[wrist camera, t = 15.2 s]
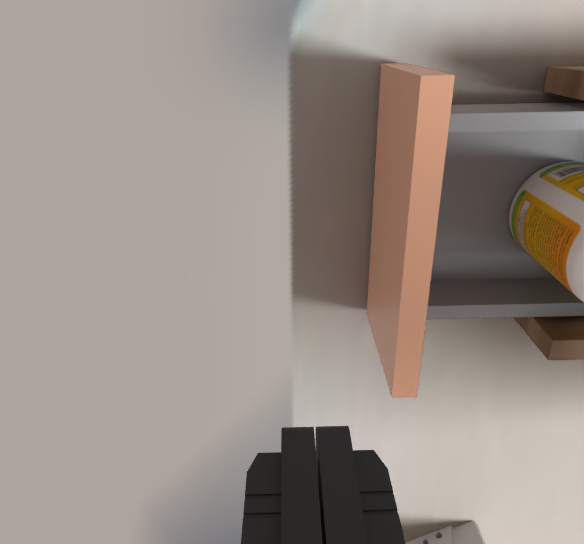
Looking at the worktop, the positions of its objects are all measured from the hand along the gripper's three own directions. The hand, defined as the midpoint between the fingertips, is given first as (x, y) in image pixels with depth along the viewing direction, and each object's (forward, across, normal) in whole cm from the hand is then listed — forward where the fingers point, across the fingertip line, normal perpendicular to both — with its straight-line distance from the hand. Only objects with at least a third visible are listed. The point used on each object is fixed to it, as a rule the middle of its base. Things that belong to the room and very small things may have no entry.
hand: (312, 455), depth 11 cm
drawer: (+19, -12, 0) cm, 22 cm away
